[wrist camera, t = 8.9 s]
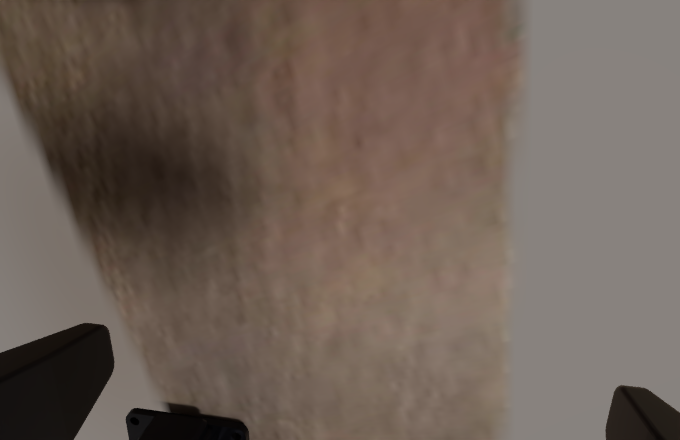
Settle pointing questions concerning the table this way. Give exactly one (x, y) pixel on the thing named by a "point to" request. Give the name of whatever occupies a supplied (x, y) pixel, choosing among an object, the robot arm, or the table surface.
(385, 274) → the table surface
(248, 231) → the table surface
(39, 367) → the robot arm
